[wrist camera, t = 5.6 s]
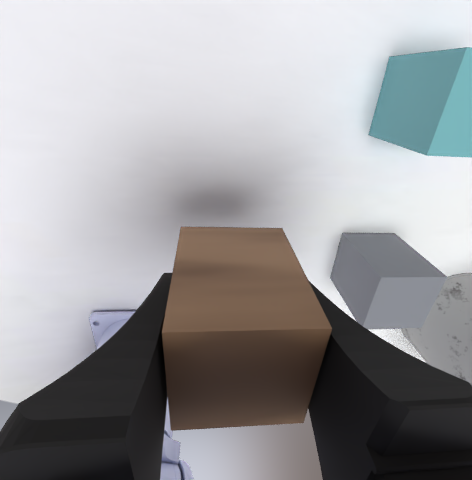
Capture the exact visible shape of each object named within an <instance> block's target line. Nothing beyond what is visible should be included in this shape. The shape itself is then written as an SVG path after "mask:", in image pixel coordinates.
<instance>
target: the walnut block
mask: <svg viewBox="0 0 472 480" xmlns="http://www.w3.org/2000/svg"><path fill="white" fill-rule="evenodd" d="M331 331H332V327H331V325H330V323H329V321H328V319H327V317H326V315H325V313H324V311H323V309H322V307H321V305H320V303H319V301H318V299H317V297H316V295H315V293H314V291H313V289H312V287H311V285H310V283H309V281H308V279H307V277H306V275H305V273H304V271H303V269H302V267H301V265H300V263H299V261H298V259H297V257H296V255H295V253H294V251H293V249H292V247H291V245H290V243H289V241H288V239H287V237H286V235H285V233H284V231H283V229H282V228H232V227H181V229H180V235H179V240H178V246H177V251H176V257H175V262H174V268H173V273H172V279H171V284H170V290H169V295H168V301H167V306H166V312H165V318H164V323H163V329H162V340H163V351H164V362H165V373H166V384H167V394H168V405H169V416H170V427H171V431H173V430H188V429H189V430H190V429H207V428H223V427H241V426H257V425H275V424H293V423H304V419H305V416H306V413H307V409H308V406H309V403H310V400H311V396H312V393H313V390H314V386H315V383H316V380H317V377H318V373H319V370H320V367H321V363H322V360H323V357H324V354H325V350H326V347H327V344H328V340H329V337H330V334H331Z"/></svg>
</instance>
